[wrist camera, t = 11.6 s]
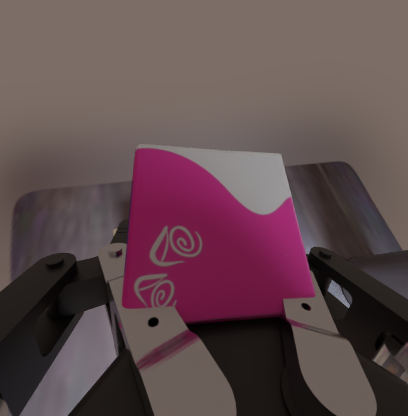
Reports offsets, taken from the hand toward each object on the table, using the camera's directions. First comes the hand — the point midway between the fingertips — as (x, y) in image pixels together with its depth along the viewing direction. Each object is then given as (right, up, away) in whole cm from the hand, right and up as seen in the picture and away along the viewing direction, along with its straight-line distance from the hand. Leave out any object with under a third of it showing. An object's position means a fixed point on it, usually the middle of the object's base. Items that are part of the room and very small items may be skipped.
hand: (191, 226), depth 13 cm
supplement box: (-1, -4, +4) cm, 5 cm away
